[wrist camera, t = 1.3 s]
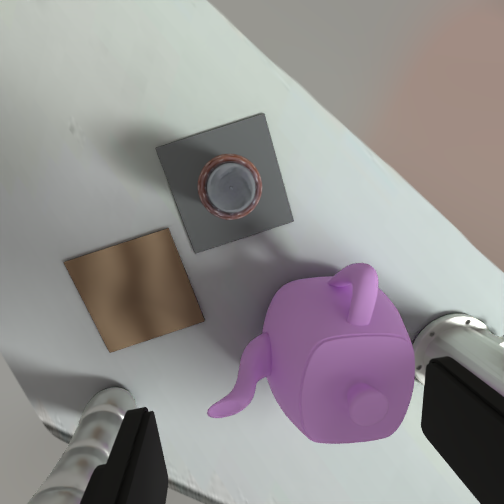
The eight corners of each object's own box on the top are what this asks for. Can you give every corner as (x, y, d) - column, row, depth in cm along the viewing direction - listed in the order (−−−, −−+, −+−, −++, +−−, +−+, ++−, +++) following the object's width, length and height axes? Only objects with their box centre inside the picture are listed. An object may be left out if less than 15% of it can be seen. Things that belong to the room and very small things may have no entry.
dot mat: (263, 113, 32) (264, 113, 32) (293, 221, 36) (293, 221, 35) (155, 148, 32) (155, 147, 32) (195, 253, 35) (195, 253, 35)
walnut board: (168, 227, 34) (167, 228, 34) (204, 319, 37) (204, 321, 37) (65, 261, 34) (63, 262, 33) (111, 350, 37) (109, 352, 37)
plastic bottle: (146, 386, 39) (71, 585, 20) (133, 425, 40) (49, 649, 21) (99, 375, 38) (-30, 573, 19) (86, 415, 39) (-47, 641, 20)
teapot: (383, 241, 37) (485, 277, 23) (365, 378, 42) (440, 479, 28) (211, 241, 35) (203, 281, 21) (213, 385, 40) (207, 500, 26)
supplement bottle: (192, 191, 33) (177, 194, 22) (222, 149, 32) (222, 131, 22) (233, 221, 35) (238, 238, 24) (263, 181, 34) (282, 180, 23)
